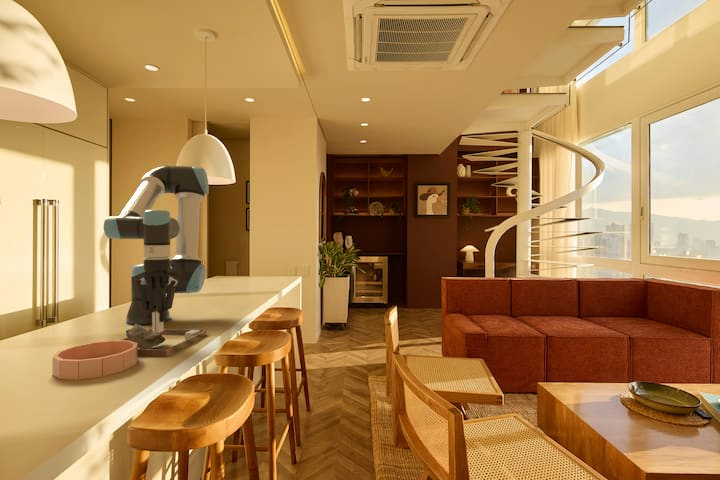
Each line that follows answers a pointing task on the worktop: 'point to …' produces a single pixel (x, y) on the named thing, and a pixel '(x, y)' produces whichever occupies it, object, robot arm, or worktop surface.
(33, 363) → the worktop surface
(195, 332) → the beige rectangular block
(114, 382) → the worktop surface
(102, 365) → the bowl
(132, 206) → the robot arm
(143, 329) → the rock
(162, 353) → the tray
